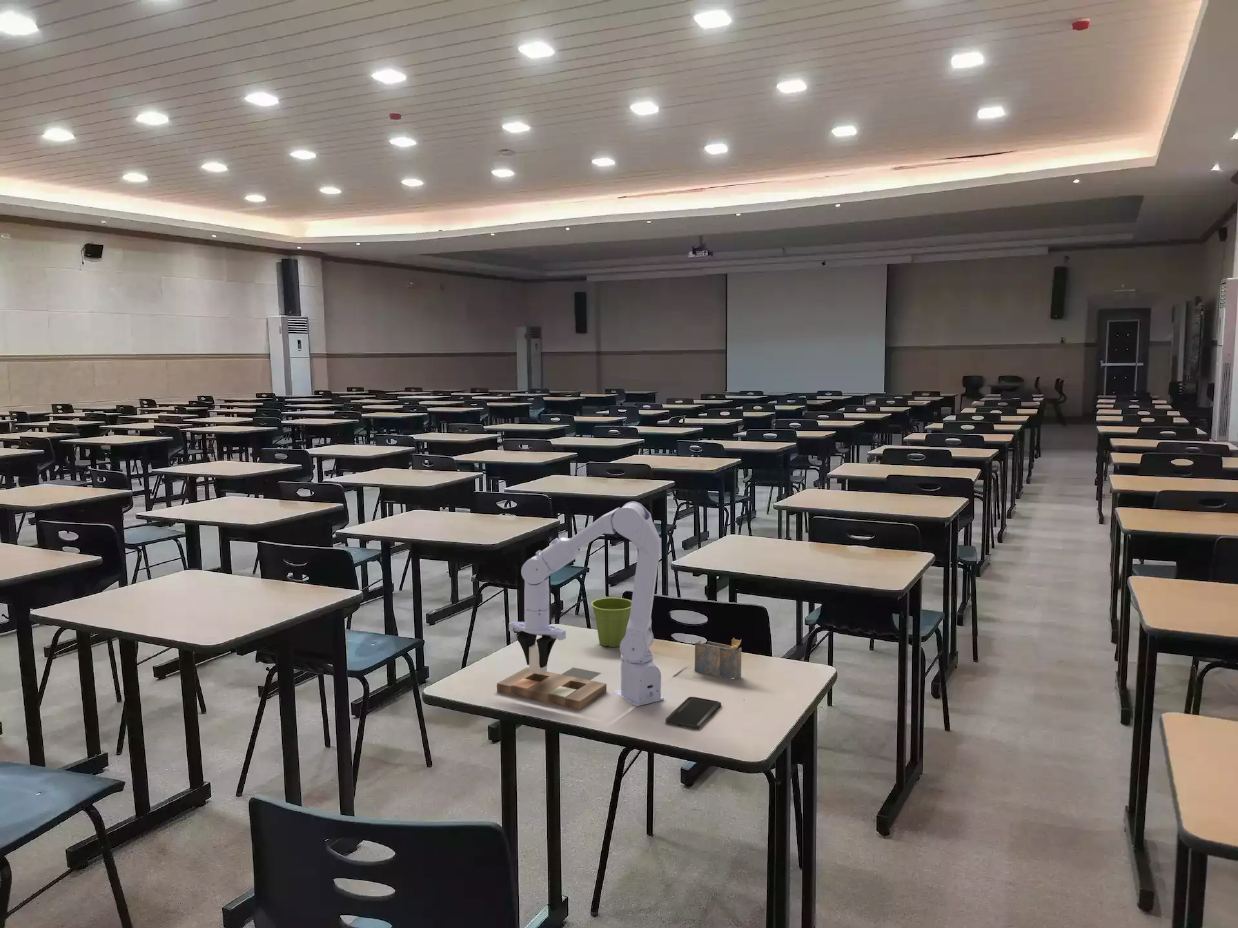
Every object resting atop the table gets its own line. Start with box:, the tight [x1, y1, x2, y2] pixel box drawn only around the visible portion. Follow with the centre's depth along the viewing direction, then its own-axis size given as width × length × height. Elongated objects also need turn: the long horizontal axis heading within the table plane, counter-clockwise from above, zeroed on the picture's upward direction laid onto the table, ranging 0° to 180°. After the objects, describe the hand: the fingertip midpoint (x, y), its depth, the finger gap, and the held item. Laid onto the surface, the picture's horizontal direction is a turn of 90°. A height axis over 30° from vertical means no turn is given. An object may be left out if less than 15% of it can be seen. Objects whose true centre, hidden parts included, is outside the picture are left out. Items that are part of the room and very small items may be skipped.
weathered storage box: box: [694, 638, 742, 680], centre depth 206 cm, size 11×3×10 cm, turn 57°
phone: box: [665, 696, 722, 731], centre depth 182 cm, size 8×1×15 cm
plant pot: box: [590, 597, 632, 648], centre depth 228 cm, size 12×12×11 cm
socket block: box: [496, 667, 607, 711], centre depth 192 cm, size 22×12×3 cm, turn 62°
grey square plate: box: [561, 667, 602, 681], centre depth 203 cm, size 8×8×1 cm
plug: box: [528, 643, 548, 674], centre depth 196 cm, size 3×3×6 cm
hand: (536, 664), depth 196 cm, fingers closed on plug, 3 cm apart
